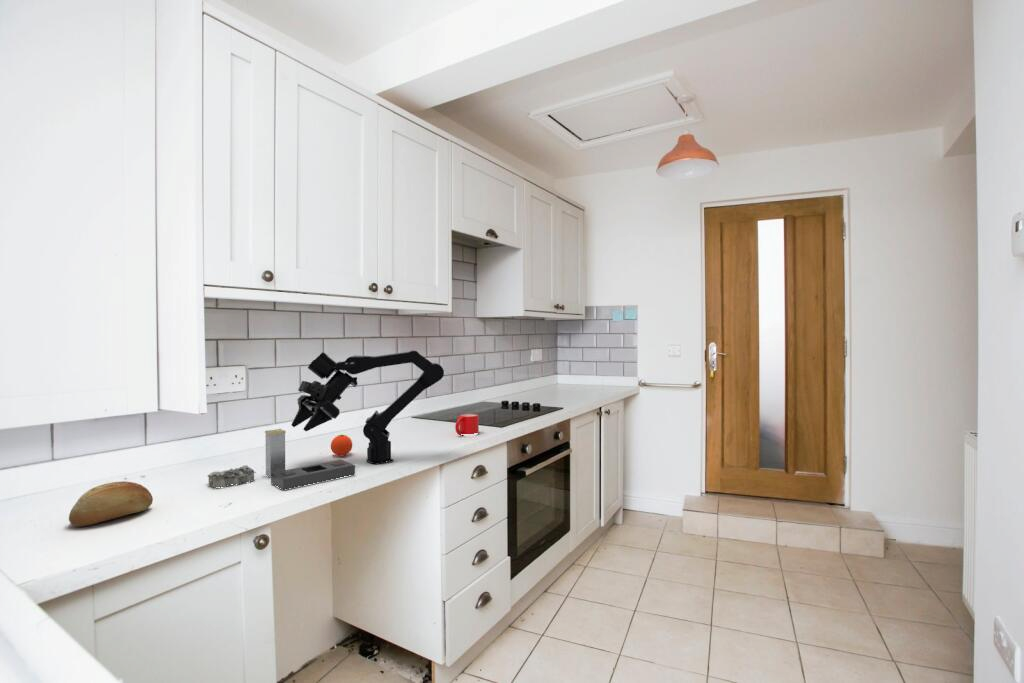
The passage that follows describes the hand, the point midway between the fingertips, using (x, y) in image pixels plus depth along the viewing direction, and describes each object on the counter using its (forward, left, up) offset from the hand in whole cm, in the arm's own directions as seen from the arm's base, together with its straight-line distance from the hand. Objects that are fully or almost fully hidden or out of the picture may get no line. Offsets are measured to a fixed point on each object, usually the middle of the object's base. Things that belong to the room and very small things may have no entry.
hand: (298, 428), depth 148 cm
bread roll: (+44, +11, -13) cm, 47 cm away
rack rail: (0, +11, -13) cm, 17 cm away
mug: (-68, -10, -13) cm, 70 cm away
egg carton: (+18, -1, -13) cm, 22 cm away
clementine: (-17, -11, -13) cm, 24 cm away
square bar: (+7, 0, -13) cm, 14 cm away
